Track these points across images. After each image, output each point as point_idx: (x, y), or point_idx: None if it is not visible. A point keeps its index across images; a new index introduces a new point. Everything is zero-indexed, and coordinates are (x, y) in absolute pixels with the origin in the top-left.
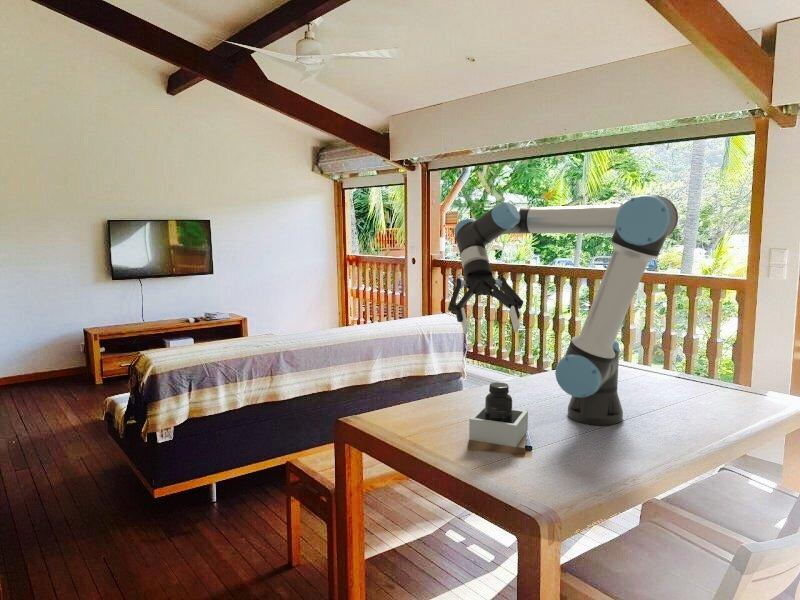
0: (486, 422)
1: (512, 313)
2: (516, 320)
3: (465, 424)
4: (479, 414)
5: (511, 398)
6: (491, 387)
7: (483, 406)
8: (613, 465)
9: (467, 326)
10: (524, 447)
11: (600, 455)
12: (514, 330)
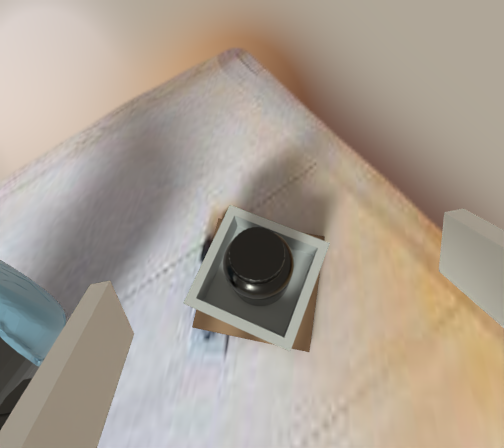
0: (291, 229)
1: (64, 403)
2: (83, 315)
3: (327, 391)
4: (304, 284)
5: (225, 252)
6: (280, 239)
7: (291, 338)
8: (90, 184)
9: (460, 218)
10: (219, 220)
11: (92, 221)
12: (129, 331)
